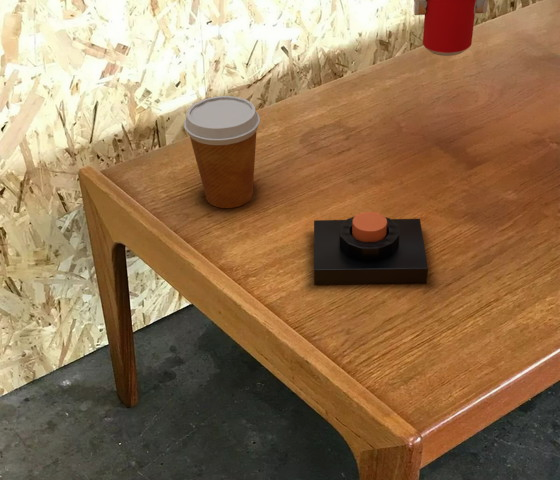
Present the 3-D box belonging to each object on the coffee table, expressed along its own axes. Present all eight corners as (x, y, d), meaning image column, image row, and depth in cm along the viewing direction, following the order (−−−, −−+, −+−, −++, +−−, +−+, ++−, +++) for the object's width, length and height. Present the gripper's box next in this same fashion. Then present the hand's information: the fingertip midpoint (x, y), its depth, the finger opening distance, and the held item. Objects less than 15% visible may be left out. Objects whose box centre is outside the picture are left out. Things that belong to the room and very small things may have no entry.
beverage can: (471, 39, 105) (483, -60, 96) (470, 59, 100) (482, -43, 92) (423, 38, 106) (431, -61, 97) (420, 58, 101) (428, -44, 93)
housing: (418, 233, 99) (421, 205, 96) (426, 283, 92) (429, 255, 89) (314, 234, 99) (313, 207, 97) (314, 284, 92) (313, 257, 90)
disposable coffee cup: (254, 171, 111) (248, 89, 102) (273, 207, 104) (268, 122, 96) (187, 184, 109) (176, 101, 101) (202, 221, 103) (191, 136, 94)
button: (385, 223, 94) (386, 211, 93) (387, 243, 92) (388, 230, 90) (351, 224, 95) (351, 211, 93) (352, 243, 92) (353, 231, 91)
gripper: (371, -102, 88) (367, 25, 98) (558, -109, 87) (536, 19, 97) (369, -117, 93) (366, 5, 103) (547, -124, 92) (526, 0, 101)
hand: (449, 12), depth 100 cm, fingers closed on beverage can, 6 cm apart
